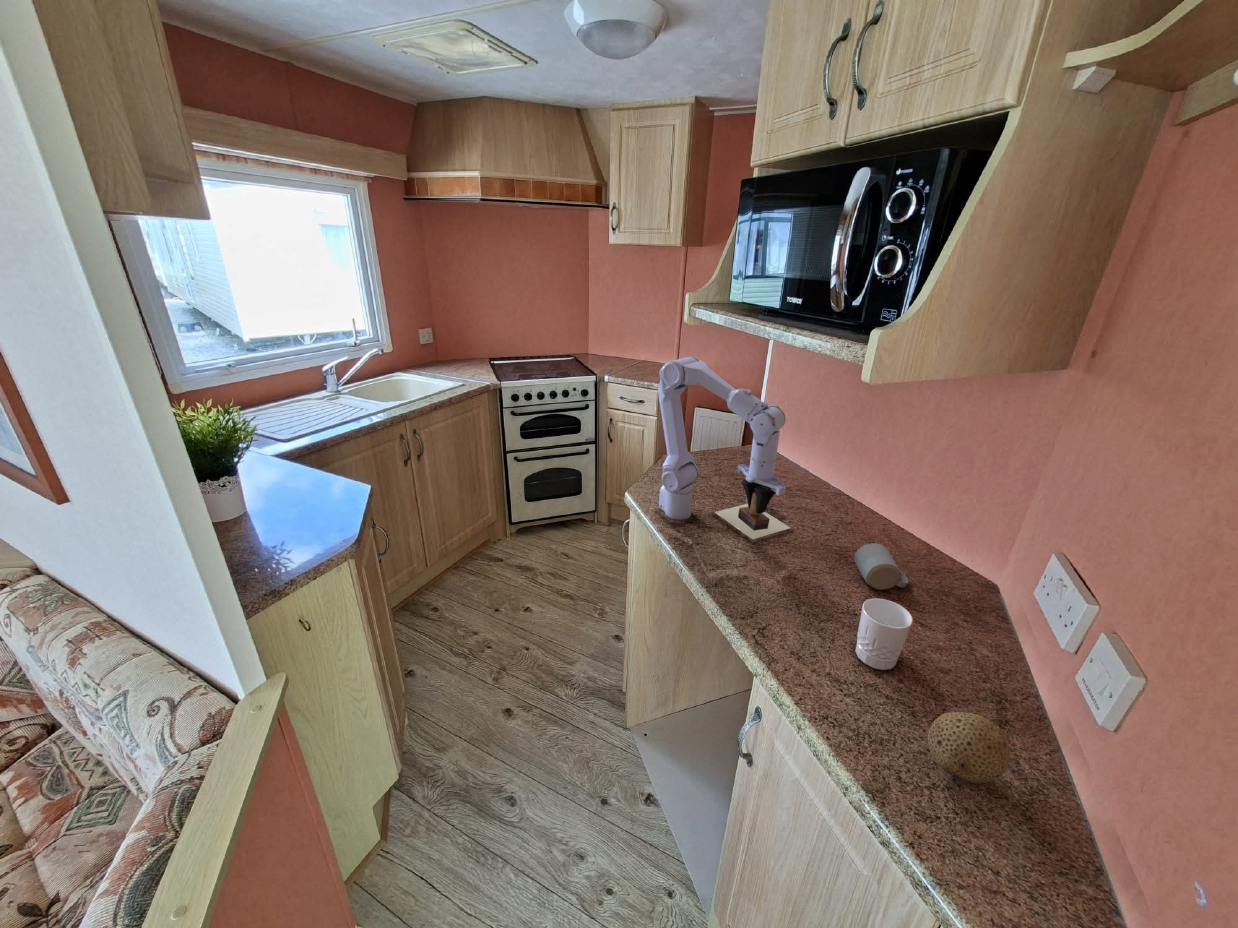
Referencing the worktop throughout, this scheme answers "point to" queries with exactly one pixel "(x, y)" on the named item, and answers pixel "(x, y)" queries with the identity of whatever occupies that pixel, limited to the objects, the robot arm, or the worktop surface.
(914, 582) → the worktop surface
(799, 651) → the worktop surface
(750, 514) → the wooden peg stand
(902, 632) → the white cup
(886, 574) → the ceramic mug
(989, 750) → the natural sponge
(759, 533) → the tile
